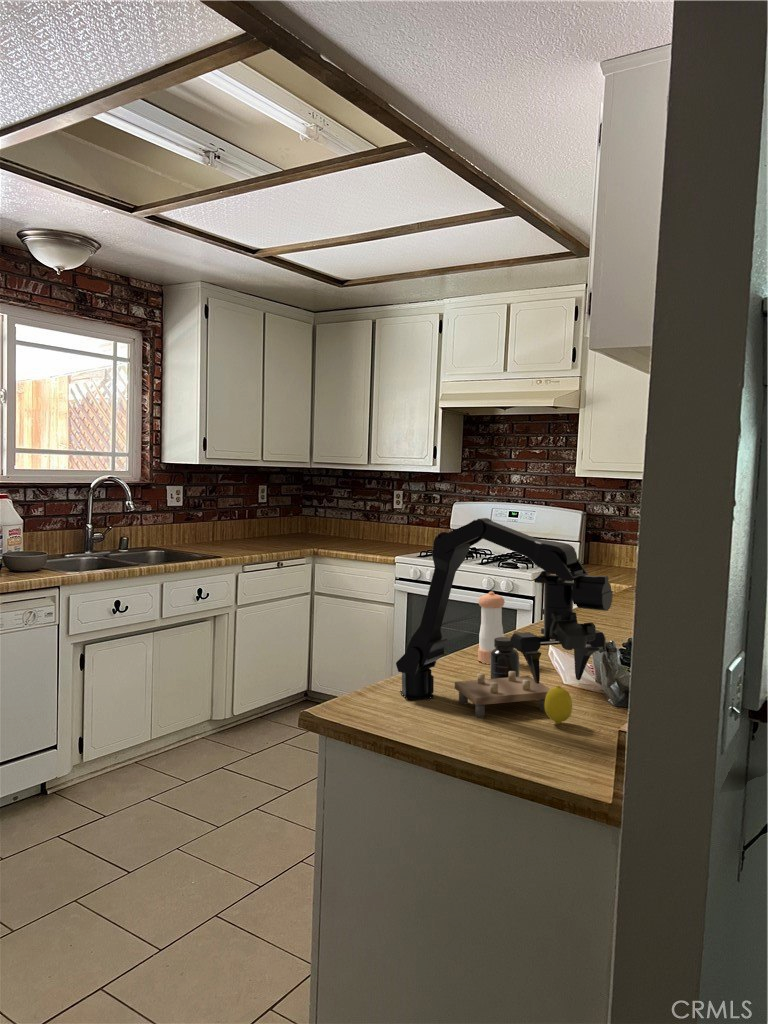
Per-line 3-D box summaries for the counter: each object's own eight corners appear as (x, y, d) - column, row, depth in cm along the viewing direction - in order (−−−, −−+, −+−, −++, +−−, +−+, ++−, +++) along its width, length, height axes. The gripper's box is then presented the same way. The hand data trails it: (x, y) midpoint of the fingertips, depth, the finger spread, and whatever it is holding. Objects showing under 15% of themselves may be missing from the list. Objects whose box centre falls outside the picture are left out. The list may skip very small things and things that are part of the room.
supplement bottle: (497, 683, 188) (497, 634, 188) (523, 687, 185) (523, 637, 184) (485, 690, 182) (485, 640, 182) (513, 694, 179) (513, 643, 178)
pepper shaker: (504, 658, 213) (504, 589, 212) (505, 665, 205) (505, 594, 204) (477, 658, 213) (477, 589, 212) (478, 664, 206) (478, 593, 205)
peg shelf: (476, 719, 161) (476, 688, 161) (454, 701, 173) (454, 673, 173) (554, 711, 165) (554, 682, 165) (528, 694, 178) (528, 667, 178)
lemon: (552, 718, 161) (552, 680, 161) (576, 723, 158) (576, 685, 157) (539, 725, 157) (539, 686, 157) (564, 730, 154) (564, 691, 153)
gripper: (533, 615, 146) (533, 696, 147) (621, 610, 151) (620, 688, 152) (509, 605, 157) (509, 680, 158) (591, 601, 161) (591, 674, 162)
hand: (557, 681), depth 157 cm, fingers open, 9 cm apart
